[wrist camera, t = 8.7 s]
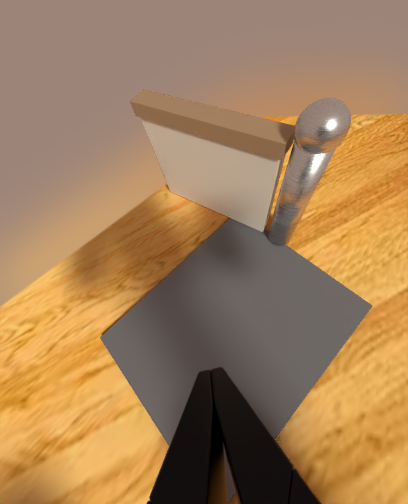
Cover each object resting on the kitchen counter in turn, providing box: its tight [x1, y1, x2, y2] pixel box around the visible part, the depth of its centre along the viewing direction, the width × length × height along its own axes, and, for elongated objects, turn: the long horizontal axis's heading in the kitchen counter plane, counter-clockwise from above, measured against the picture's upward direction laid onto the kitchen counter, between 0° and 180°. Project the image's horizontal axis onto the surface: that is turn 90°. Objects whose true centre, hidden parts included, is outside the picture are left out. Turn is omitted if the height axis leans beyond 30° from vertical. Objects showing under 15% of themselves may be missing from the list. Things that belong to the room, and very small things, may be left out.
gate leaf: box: [130, 90, 295, 232], centre depth 20 cm, size 13×2×11 cm, turn 57°
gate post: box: [268, 98, 351, 246], centre depth 17 cm, size 3×3×14 cm
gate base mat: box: [100, 218, 372, 503], centre depth 20 cm, size 16×20×1 cm
